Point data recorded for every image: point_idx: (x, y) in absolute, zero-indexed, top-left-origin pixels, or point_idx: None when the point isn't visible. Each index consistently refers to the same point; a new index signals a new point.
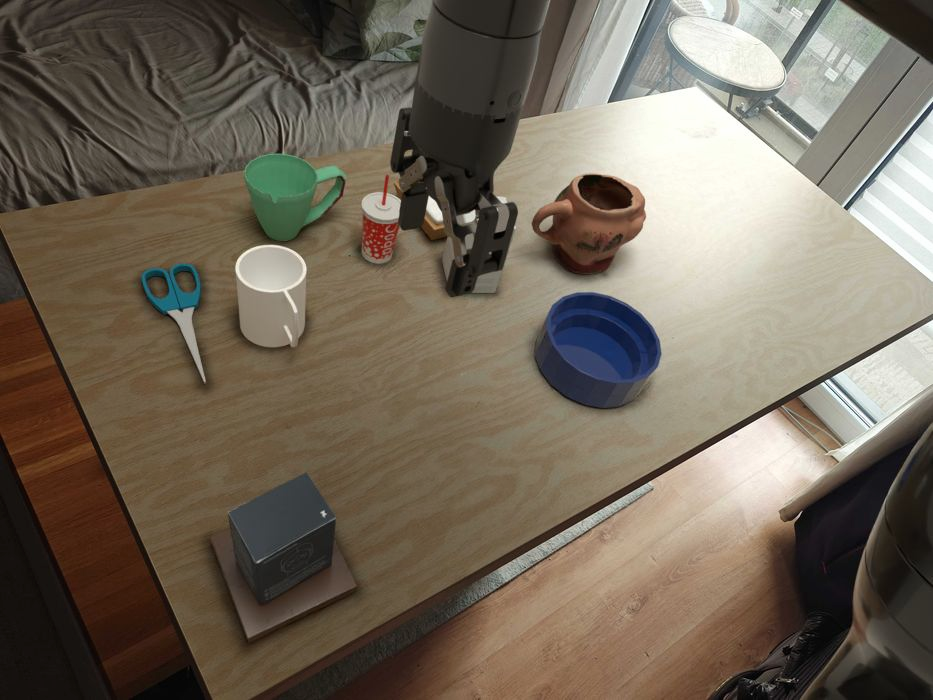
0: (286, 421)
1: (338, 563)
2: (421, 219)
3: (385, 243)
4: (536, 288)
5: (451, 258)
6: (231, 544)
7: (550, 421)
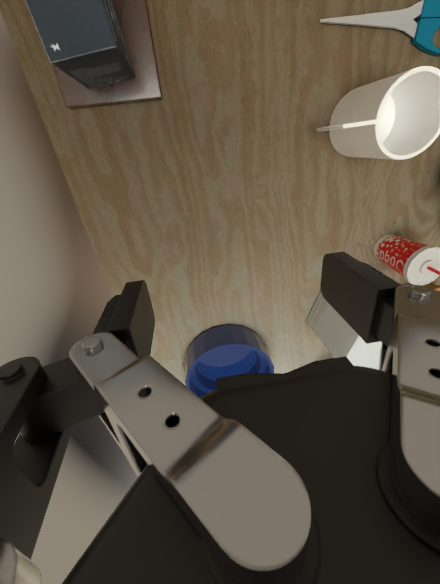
0: (249, 100)
1: (89, 96)
2: (329, 298)
3: (388, 255)
4: (298, 348)
5: None
6: None
7: (186, 314)
